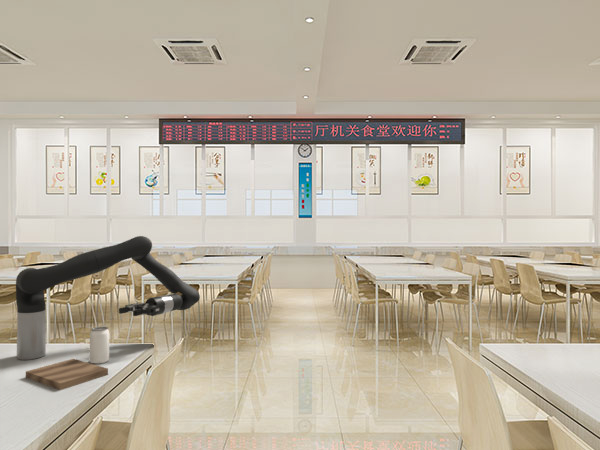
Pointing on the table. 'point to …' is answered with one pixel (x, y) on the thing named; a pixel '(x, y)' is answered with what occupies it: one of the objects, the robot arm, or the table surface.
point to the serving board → (66, 373)
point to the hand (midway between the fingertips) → (126, 312)
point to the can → (99, 345)
